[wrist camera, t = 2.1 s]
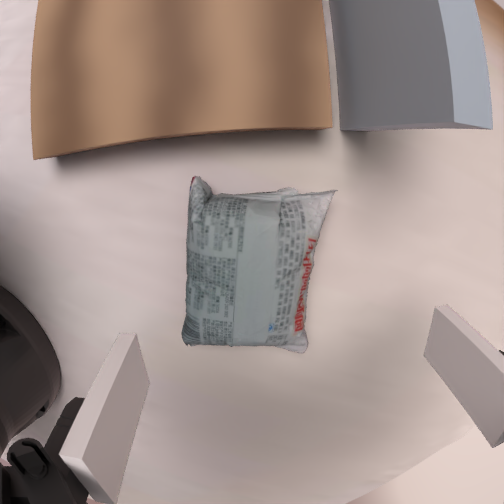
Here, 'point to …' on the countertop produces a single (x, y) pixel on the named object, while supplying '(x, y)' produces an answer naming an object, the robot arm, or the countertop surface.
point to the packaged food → (250, 266)
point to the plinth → (174, 70)
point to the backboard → (410, 65)
